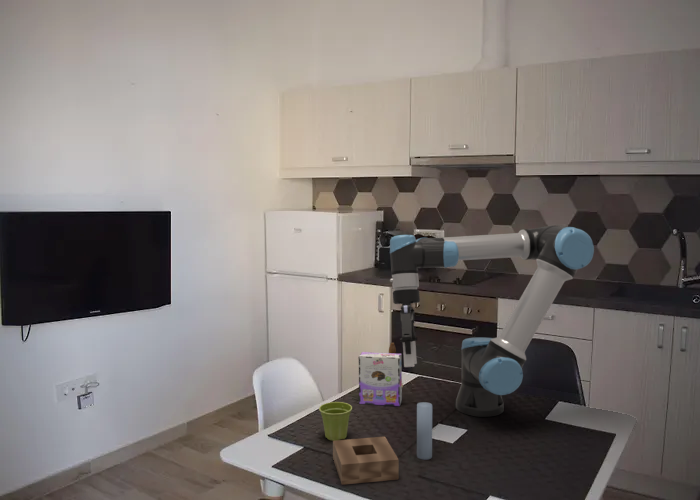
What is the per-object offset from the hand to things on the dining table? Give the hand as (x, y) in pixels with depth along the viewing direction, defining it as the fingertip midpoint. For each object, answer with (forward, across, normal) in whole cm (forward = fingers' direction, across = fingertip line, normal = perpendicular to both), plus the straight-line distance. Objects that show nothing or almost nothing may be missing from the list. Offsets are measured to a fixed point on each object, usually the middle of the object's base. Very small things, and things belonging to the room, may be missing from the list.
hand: (410, 365), depth 164 cm
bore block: (+24, +14, -13) cm, 31 cm away
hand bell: (+10, -50, -10) cm, 52 cm away
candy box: (+14, -33, -13) cm, 38 cm away
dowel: (+23, +5, +2) cm, 24 cm away
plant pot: (+20, -4, -23) cm, 30 cm away
